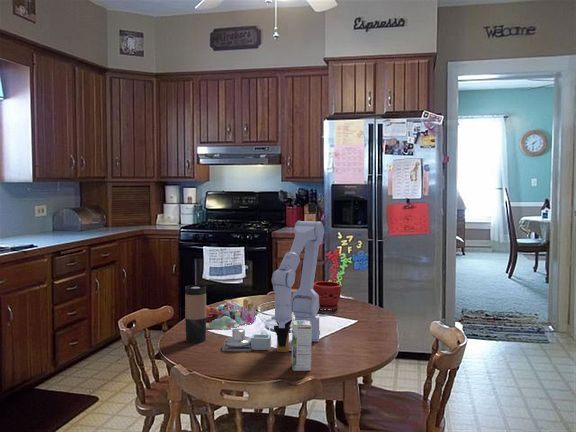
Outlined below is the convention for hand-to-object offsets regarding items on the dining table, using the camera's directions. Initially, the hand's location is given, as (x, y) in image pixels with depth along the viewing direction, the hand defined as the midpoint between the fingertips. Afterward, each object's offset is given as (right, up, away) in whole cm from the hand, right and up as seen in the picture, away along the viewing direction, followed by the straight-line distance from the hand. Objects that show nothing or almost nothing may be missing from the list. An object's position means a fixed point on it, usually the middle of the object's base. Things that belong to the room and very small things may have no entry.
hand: (283, 343), depth 182 cm
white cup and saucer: (-16, -2, +4) cm, 16 cm away
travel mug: (-32, -2, +12) cm, 35 cm away
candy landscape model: (-24, -1, +39) cm, 46 cm away
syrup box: (+6, -4, -17) cm, 19 cm away
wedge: (0, -3, 0) cm, 3 cm away
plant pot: (+20, +1, +63) cm, 66 cm away
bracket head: (-8, -2, +8) cm, 11 cm away
